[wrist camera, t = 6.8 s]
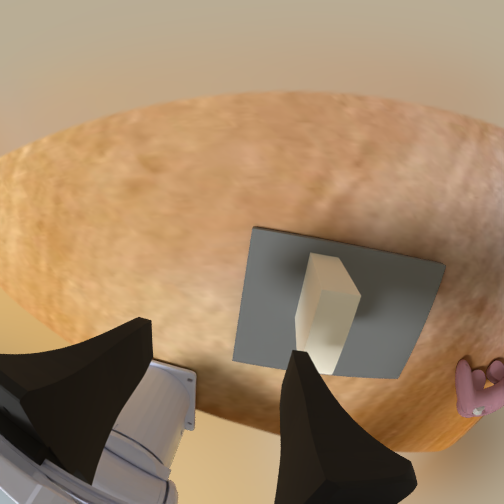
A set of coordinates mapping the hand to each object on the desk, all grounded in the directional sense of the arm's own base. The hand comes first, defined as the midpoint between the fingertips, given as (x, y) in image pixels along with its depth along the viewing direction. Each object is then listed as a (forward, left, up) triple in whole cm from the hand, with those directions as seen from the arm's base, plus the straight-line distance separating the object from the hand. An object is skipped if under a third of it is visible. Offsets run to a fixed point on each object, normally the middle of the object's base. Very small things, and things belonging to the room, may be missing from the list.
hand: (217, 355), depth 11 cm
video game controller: (-7, -27, -10) cm, 30 cm away
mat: (-2, -8, -9) cm, 12 cm away
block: (0, -5, -9) cm, 10 cm away
